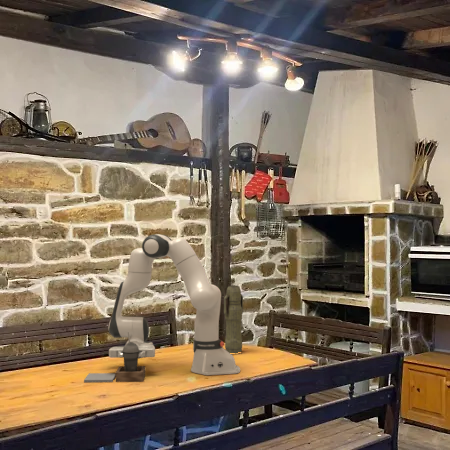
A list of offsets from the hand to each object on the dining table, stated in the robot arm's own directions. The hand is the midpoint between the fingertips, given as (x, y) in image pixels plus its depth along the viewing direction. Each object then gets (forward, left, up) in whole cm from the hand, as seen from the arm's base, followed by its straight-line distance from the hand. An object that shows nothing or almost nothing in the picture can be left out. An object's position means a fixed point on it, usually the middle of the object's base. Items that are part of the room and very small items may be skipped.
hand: (130, 355), depth 263 cm
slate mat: (+13, -1, -10) cm, 16 cm away
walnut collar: (0, -1, -10) cm, 10 cm away
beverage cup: (0, -1, -10) cm, 10 cm away
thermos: (-48, -54, -10) cm, 73 cm away
